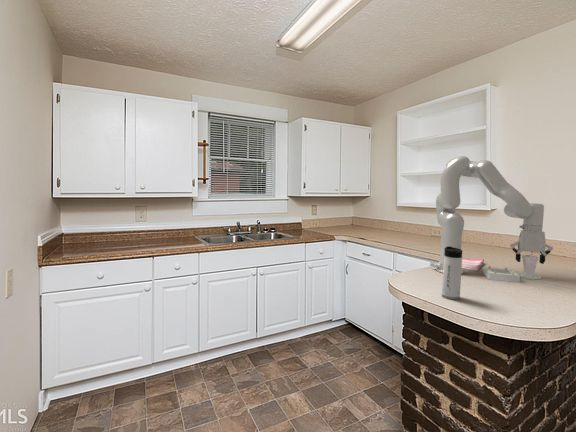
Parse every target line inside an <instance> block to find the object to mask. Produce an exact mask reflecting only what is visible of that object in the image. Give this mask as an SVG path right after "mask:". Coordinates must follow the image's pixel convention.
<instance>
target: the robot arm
mask: <svg viewBox="0 0 576 432" xmlns="http://www.w3.org/2000/svg"><path fill="white" fill-rule="evenodd" d="M461 177H468V178H475V179H477V178H478V179H479V180H480V181H481V182H482V184H483V185H484V186H485V188H486V189H487V190H488V191H489V193H491V194H492V195H493V196H495V197H497V198H499V199H501V200H502V201H504V202H505V203H506V205H505V206H504V208H503V212H504V214H505V215H506V216H507V217H510V218H516V219H521V220H523V221H522V225H521V224H520V225H519V227H518V228H519V229H521V230H520V233H519V237H518V241H516V242H513V243H510V245H509V247H510V248H511V250H512V251H513V252H514V253H515V261H516V262H518V263H520V262H521V258H522V257H521V256H522V255H521V253H522V252H531V251H532V252H533V253H536V252H537V253H540V254H539V259H538V261H539V264H541V265H543V264H545V262H546V257H547V256H548V255H549V254H550V253H551V252H552V251H553V250H554V247H553V246H551V245H549V244H547V243H546V232H545V231H543V226H544V225H543V224H544V213H545V205H544V204H543V203H534V202H533V203H530V202H529V201H528V199H527V198H526V197H525V196H524V194H522V193H521V192H520V191H519V190H518V189H516V188H515V187H514V186H513V185H512V184H510V183H509V182H508V181H507V180H506V178H505V177H504V176H503V174H502V173H501V172H500V170H498V169H497V168H496V166H495V165H494V164H493V162H492V161H490V160H488V159H487V160H485V159H484V160H479V161H474V160H470V158H468V157H467V156H464V155H460V156H457V157H453V158H451V159H449V160H448V161H447V162H446V164H445V167H444V169H443V171H442V174H441V175H440V193H438V194H437V196H436V198H435V209H436V219H437V223H438V224H439V226H440V227H441V228H442V230H441V236H440V253H439V260H438V262H429V266H431V267H433V268H435V270H436V271H437V272H438V273H440V274H441V273H442V274H443V267H444V254H445V253H444V252H445V248H446V247H447V246H451V247H454V248H458V249H461V250H462V246H463V245H462V243H463V242H462V241H463V233H464V229H465V228H464V227H465V219H464V217H463V216H462V214H460V213H459V212H456V209H457V208H459V206H460V205H461V191H460V190H461V189H460V179H461ZM516 246H517V248H516ZM546 248H547V249H546ZM463 274H464V269H461V275H463Z"/></svg>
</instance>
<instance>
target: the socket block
mask: <svg viewBox="0 0 576 432" xmlns="http://www.w3.org/2000/svg"><path fill="white" fill-rule="evenodd" d="M517 273H518V272H515V271H514V270H513V269H509V268H507V267H504V268H497V267H496V268H495V267H492V266H488V267H486V266H485V267H483V270H482V274H483V275H484V276H485V277H486V278H487V279H488V280H490V281H491V280H492V281H500V282H509V283H510V282H511V283H520V278H521V277H520V276H519V275H518V274H517Z"/></svg>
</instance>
